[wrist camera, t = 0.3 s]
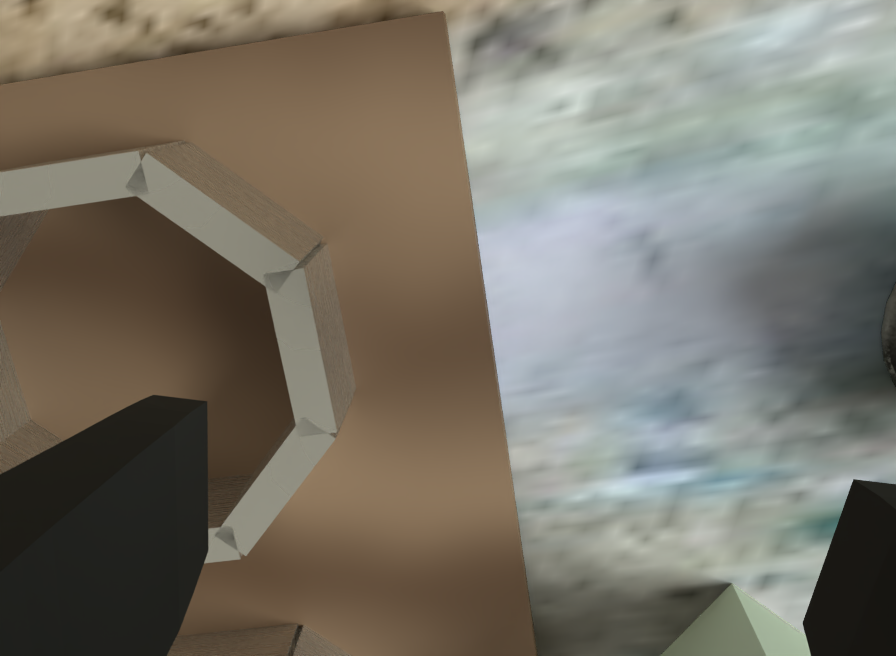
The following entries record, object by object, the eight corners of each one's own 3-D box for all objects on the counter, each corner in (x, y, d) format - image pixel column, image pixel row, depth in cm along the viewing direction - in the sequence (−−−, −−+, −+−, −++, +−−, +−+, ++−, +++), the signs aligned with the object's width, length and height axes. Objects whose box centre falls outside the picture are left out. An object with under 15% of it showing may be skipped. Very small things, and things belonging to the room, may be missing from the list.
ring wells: (451, 879, 24) (447, 971, 21) (153, 902, 24) (116, 992, 22) (304, 121, 18) (275, 129, 15) (-80, 181, 19) (-164, 198, 16)
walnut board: (570, 885, 25) (574, 918, 24) (-14, 928, 26) (-33, 960, 25) (445, 14, 18) (443, 11, 17) (-327, 142, 20) (-368, 145, 19)
